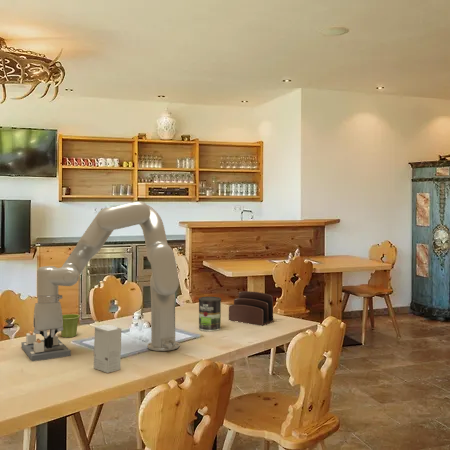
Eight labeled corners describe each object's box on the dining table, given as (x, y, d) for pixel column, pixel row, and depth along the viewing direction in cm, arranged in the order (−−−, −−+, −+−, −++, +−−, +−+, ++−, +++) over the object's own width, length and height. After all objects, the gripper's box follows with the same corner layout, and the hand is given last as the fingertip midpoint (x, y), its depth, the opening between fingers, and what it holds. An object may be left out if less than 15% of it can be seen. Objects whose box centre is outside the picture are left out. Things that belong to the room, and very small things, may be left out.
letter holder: (239, 317, 269) (239, 289, 268) (273, 322, 257) (273, 293, 257) (228, 321, 261) (228, 292, 260) (263, 326, 249) (263, 296, 249)
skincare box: (93, 368, 185) (92, 326, 184) (107, 364, 189) (106, 323, 189) (108, 373, 179) (107, 330, 179) (122, 369, 184) (121, 326, 183)
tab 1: (36, 343, 210) (35, 332, 210) (28, 344, 208) (27, 333, 208) (34, 341, 213) (34, 330, 213) (26, 342, 212) (26, 331, 211)
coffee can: (215, 332, 237) (215, 301, 236) (195, 330, 241) (194, 299, 240) (224, 327, 246) (224, 297, 246) (204, 325, 250) (204, 295, 250)
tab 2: (43, 351, 198) (43, 340, 198) (35, 352, 196) (35, 341, 196) (42, 349, 201) (41, 338, 201) (33, 350, 200) (33, 339, 199)
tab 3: (58, 344, 207) (58, 333, 207) (50, 345, 206) (50, 334, 206) (56, 342, 210) (55, 332, 210) (48, 343, 209) (48, 332, 209)
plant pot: (68, 339, 225) (67, 319, 224) (52, 337, 230) (52, 317, 229) (84, 335, 233) (84, 315, 232) (69, 332, 238) (69, 313, 237)
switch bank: (70, 355, 201) (70, 350, 201) (31, 361, 194) (31, 355, 194) (57, 342, 220) (57, 337, 220) (21, 347, 213) (21, 342, 213)
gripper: (65, 296, 207) (66, 342, 208) (25, 299, 199) (26, 347, 200) (70, 299, 200) (71, 347, 201) (29, 302, 193) (29, 352, 194)
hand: (48, 347), depth 201 cm, fingers closed
